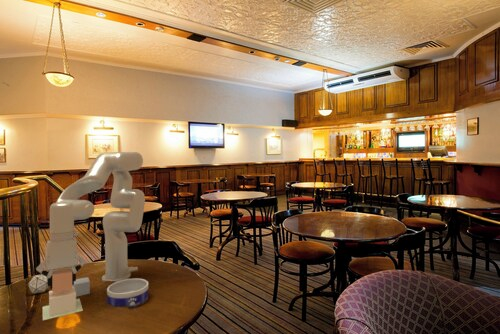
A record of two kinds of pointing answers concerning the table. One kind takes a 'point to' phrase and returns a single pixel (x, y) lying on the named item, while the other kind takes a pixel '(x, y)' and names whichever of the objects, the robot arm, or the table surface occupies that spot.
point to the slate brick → (82, 286)
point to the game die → (38, 284)
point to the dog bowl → (128, 293)
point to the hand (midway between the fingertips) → (62, 285)
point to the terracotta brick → (61, 279)
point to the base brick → (62, 301)
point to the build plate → (47, 315)
